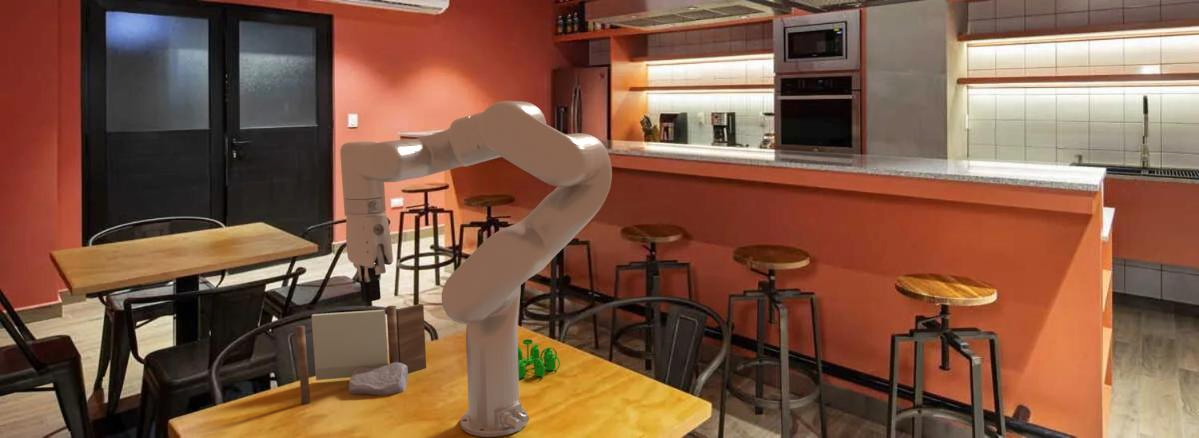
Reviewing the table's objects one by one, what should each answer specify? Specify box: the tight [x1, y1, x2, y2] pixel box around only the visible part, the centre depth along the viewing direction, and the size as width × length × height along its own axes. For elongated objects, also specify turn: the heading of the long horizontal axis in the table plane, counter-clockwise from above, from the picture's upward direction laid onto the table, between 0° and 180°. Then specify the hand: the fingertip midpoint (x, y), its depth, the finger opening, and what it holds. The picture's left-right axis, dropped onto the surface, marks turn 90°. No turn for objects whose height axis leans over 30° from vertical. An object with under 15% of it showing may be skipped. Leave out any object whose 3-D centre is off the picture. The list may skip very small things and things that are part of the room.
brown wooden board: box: [295, 303, 427, 405], centre depth 148 cm, size 2×28×16 cm, turn 135°
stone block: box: [348, 362, 409, 396], centre depth 147 cm, size 12×5×10 cm
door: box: [311, 309, 389, 381], centre depth 150 cm, size 15×1×14 cm, turn 103°
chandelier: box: [518, 338, 561, 380], centre depth 157 cm, size 15×15×7 cm
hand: (371, 299), depth 134 cm, fingers closed
